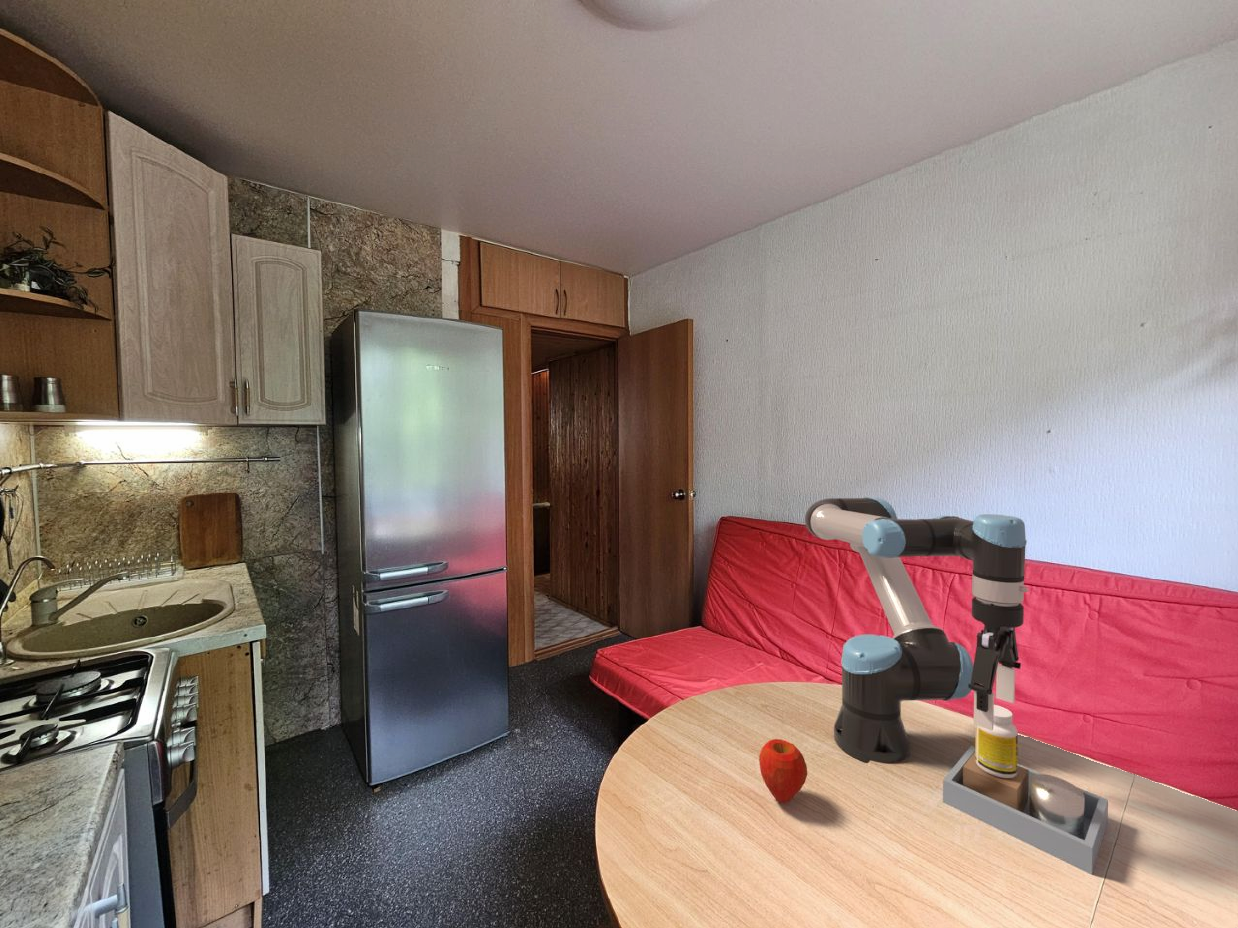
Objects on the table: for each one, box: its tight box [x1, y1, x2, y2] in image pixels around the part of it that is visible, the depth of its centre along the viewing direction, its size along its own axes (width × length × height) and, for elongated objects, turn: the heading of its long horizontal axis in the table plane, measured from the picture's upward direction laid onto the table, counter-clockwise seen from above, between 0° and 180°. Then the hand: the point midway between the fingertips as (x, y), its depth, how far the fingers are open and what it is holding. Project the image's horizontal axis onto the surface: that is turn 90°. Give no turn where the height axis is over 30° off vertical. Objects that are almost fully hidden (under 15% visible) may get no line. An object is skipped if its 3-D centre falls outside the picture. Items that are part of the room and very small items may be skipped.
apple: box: [758, 738, 808, 804], centre depth 93 cm, size 9×8×11 cm
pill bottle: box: [974, 704, 1019, 778], centre depth 90 cm, size 6×6×11 cm
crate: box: [942, 745, 1109, 875], centre depth 88 cm, size 20×16×5 cm
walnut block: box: [963, 752, 1029, 812], centre depth 91 cm, size 8×8×6 cm
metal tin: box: [1029, 773, 1085, 840], centre depth 84 cm, size 7×7×7 cm
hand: (994, 712), depth 91 cm, fingers open, 13 cm apart
